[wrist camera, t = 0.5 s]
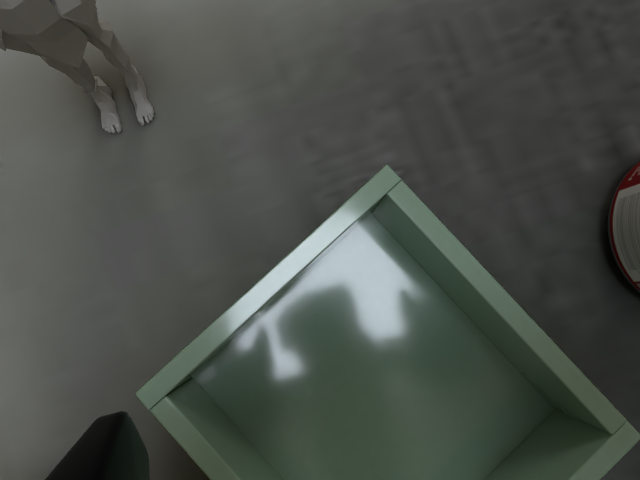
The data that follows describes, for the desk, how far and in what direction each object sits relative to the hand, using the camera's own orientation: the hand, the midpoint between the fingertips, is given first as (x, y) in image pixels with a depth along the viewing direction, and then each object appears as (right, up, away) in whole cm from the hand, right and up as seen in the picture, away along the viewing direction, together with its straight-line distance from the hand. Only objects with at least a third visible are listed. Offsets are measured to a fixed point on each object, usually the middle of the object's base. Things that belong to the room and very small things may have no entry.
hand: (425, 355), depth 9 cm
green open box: (0, -4, +14) cm, 15 cm away
